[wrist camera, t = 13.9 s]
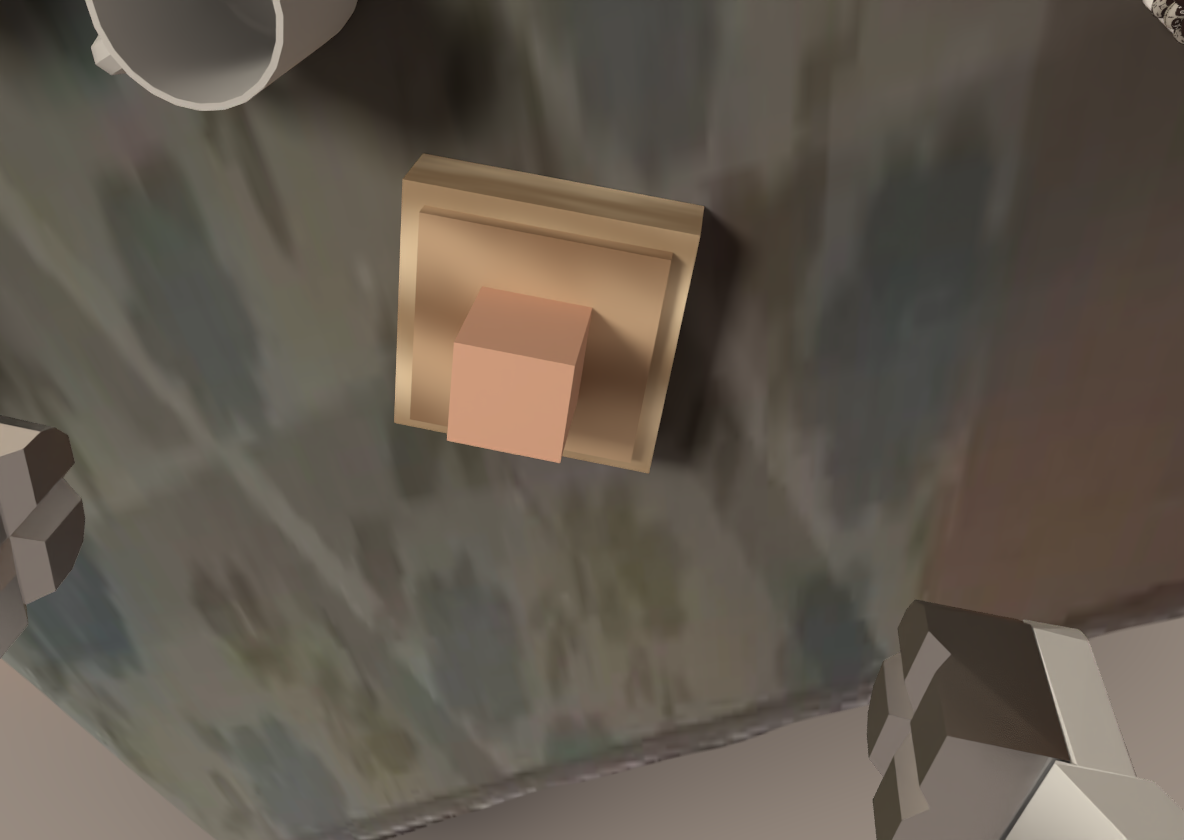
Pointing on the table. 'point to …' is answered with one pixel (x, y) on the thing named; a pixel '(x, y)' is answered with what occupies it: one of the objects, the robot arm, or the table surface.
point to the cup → (210, 44)
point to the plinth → (546, 290)
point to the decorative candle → (1169, 15)
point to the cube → (517, 373)
